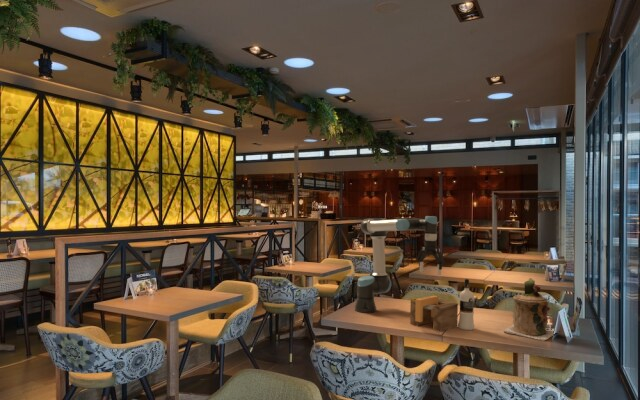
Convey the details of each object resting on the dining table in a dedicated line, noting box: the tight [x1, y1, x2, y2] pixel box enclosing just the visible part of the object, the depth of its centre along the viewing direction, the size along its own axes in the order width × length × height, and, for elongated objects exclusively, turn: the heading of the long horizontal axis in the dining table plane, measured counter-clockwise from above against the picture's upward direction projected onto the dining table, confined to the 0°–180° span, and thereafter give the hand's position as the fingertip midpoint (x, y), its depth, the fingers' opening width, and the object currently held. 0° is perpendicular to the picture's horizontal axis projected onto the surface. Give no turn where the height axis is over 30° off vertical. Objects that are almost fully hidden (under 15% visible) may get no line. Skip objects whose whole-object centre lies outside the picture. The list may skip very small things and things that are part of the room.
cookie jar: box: [503, 277, 555, 341], centre depth 273 cm, size 25×25×32 cm
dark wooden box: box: [410, 299, 459, 333], centre depth 286 cm, size 22×18×14 cm
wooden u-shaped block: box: [415, 295, 439, 322], centre depth 281 cm, size 4×19×13 cm, turn 133°
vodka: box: [457, 278, 475, 331], centre depth 280 cm, size 9×9×30 cm
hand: (430, 273), depth 296 cm, fingers open, 13 cm apart
